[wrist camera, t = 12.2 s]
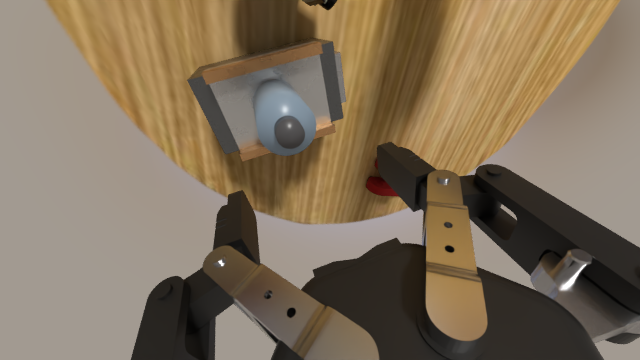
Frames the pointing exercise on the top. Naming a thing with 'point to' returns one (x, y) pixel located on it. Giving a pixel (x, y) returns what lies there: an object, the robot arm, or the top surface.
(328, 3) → the pneumatic valve
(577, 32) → the top surface
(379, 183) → the mechanical linkage
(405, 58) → the top surface
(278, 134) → the blue-gray bottle
